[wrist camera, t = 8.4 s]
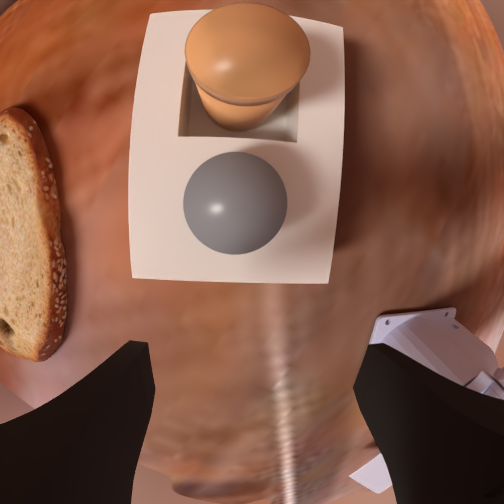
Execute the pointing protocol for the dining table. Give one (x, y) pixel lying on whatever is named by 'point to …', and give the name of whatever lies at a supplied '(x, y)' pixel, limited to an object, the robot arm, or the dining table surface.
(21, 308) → the bread slice
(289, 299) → the dining table surface
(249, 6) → the orange tapered cylinder
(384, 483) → the wedge on round base
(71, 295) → the dining table surface
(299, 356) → the dining table surface
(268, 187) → the cream block with recess
